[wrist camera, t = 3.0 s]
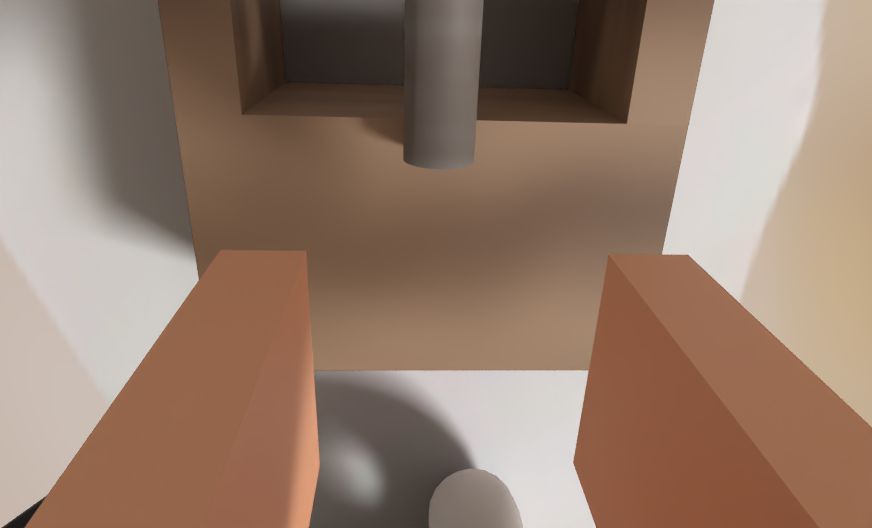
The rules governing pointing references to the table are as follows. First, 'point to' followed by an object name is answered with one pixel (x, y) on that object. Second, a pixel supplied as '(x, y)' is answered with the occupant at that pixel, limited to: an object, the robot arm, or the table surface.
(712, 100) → the table surface
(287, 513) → the staple
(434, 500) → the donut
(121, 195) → the table surface
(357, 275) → the wooden divided tray
